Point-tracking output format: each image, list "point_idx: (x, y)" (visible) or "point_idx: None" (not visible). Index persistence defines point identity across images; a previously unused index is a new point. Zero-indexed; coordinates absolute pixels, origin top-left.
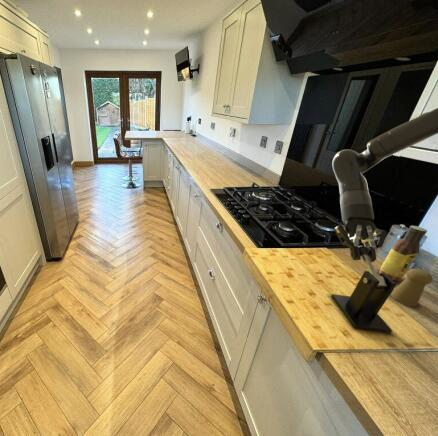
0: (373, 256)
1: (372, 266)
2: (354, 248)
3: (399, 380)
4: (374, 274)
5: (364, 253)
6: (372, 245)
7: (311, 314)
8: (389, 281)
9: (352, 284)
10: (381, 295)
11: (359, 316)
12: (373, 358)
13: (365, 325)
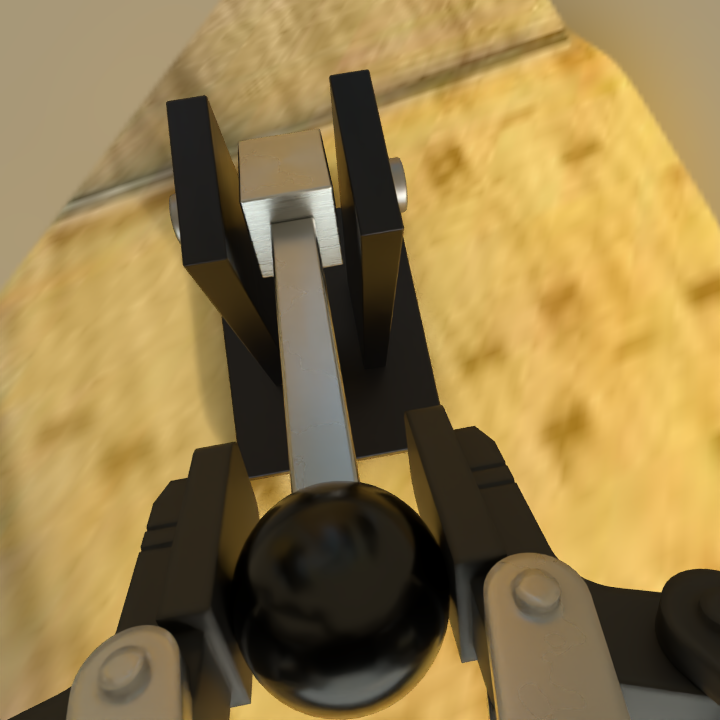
0: (203, 487)
1: (289, 314)
2: (520, 547)
3: (317, 7)
4: (301, 235)
5: (351, 481)
6: (150, 691)
7: (594, 230)
8: (214, 134)
9: None
10: None
11: (346, 275)
12: (373, 68)
13: (341, 216)
